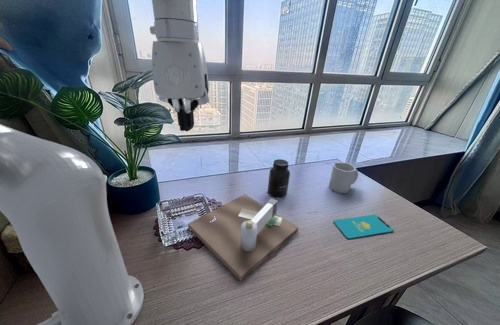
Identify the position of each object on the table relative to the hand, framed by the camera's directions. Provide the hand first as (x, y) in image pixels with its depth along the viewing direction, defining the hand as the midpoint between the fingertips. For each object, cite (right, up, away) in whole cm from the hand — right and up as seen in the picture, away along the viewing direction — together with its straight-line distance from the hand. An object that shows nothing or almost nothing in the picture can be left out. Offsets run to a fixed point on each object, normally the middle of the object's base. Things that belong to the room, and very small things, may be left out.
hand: (186, 129), depth 47 cm
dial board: (+12, -26, +10) cm, 30 cm away
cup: (+49, -17, +32) cm, 60 cm away
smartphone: (+46, -26, +13) cm, 55 cm away
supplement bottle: (+24, -18, +27) cm, 40 cm away
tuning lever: (+17, -25, +7) cm, 31 cm away
